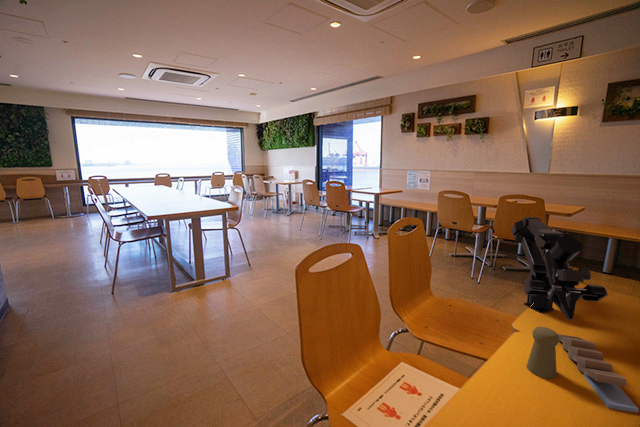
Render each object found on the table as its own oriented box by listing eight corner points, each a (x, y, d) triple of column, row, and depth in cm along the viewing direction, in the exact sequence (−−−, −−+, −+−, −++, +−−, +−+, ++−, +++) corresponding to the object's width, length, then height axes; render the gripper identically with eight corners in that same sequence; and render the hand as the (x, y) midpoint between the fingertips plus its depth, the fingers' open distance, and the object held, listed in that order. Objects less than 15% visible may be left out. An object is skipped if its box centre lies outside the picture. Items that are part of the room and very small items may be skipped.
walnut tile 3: (568, 351, 80) (584, 359, 71) (592, 355, 78) (612, 364, 69) (568, 357, 80) (584, 366, 70) (592, 361, 78) (612, 371, 69)
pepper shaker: (551, 365, 77) (556, 325, 75) (560, 381, 71) (566, 339, 69) (523, 360, 79) (527, 321, 77) (530, 376, 73) (535, 334, 71)
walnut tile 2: (562, 342, 84) (577, 349, 75) (585, 346, 82) (603, 353, 73) (562, 348, 83) (577, 355, 74) (585, 352, 81) (603, 360, 72)
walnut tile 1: (556, 333, 88) (571, 339, 78) (578, 337, 86) (595, 343, 77) (556, 339, 87) (571, 346, 78) (578, 343, 85) (595, 350, 76)
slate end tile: (584, 372, 73) (608, 403, 63) (609, 376, 71) (638, 409, 62) (583, 378, 73) (607, 410, 64) (608, 382, 71) (637, 415, 62)
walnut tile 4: (577, 362, 75) (596, 373, 66) (602, 366, 73) (625, 378, 64) (577, 368, 75) (596, 381, 66) (603, 373, 73) (626, 386, 64)
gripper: (531, 254, 90) (542, 305, 81) (609, 259, 84) (629, 315, 76) (520, 269, 98) (528, 318, 90) (589, 275, 93) (605, 327, 84)
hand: (570, 319), depth 85 cm, fingers closed
